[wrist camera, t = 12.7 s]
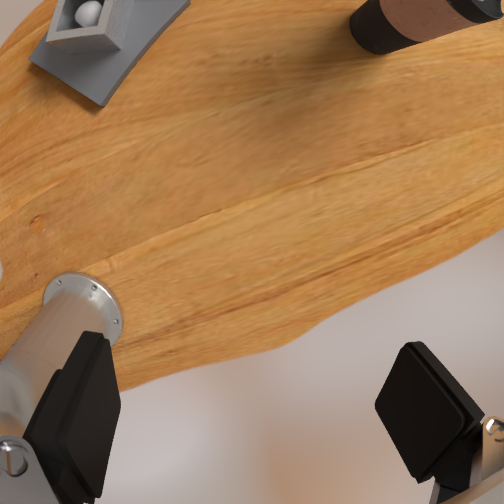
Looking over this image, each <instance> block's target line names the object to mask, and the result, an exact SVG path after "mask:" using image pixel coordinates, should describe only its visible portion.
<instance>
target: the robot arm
mask: <svg viewBox="0 0 504 504" xmlns="http://www.w3.org/2000/svg"><path fill="white" fill-rule="evenodd" d="M95 285H96V286H95ZM43 306H44V307H43V308H42V309H41V310H40V311H39V313H38V314H37V315H36V316H35V317H34V319H33V320H32V321H31V322H30V323H29V325H28V326H27V327H26V328H25V330H24V331H23V332H22V333H21V335H20V336H19V337H18V338H17V340H16V341H15V342H14V344H13V345H12V346H11V348H10V349H9V350H8V351H7V353H6V354H5V355H4V357H3V358H2V360H1V361H0V504H83V503H88V504H94V502H95V498H100V497H101V495H102V490H103V485H104V480H105V475H106V470H107V465H108V460H109V456H110V451H111V446H112V442H113V438H114V434H115V429H116V426H117V421H118V418H119V414H120V408H121V401H120V396H119V391H118V386H117V381H116V376H115V370H114V364H113V358H112V352H111V347H112V346H113V345H114V344H115V343H116V342H117V340H118V339H119V337H120V335H121V332H122V329H123V315H122V311H121V308H120V305H119V303H118V301H117V299H116V298H115V296H114V295H113V294H112V292H111V291H110V290H109V289H108V288H107V287H106V286H105V285H104V284H103V283H101V282H100V281H99V280H97V279H95V278H94V277H92V276H90V275H87V274H84V273H80V272H66V273H63V274H60V275H59V276H57V277H55V278H54V279H53V280H52V281H51V282H50V283H49V285H48V286H47V288H46V290H45V293H44V298H43ZM375 409H376V412H377V413H378V415H379V417H380V419H381V421H382V422H383V424H384V426H385V428H386V430H387V431H388V433H389V435H390V437H391V439H392V441H393V443H394V444H395V446H396V448H397V450H398V452H399V454H400V456H401V457H402V459H403V461H404V463H405V465H406V467H407V469H408V471H409V472H410V474H411V476H412V477H413V478H416V480H417V482H418V484H419V483H422V482H424V481H427V480H429V479H430V478H431V477H432V476H434V477H435V482H434V487H433V490H432V494H431V499H430V502H429V504H504V420H503V419H502V418H499V417H495V416H492V417H488V418H487V419H486V420H485V421H484V422H483V424H482V425H481V423H480V421H481V420H482V418H483V417H484V415H485V414H484V413H483V411H482V410H481V409H480V408H479V407H478V405H477V404H476V403H475V402H474V400H473V399H472V398H471V397H470V396H469V395H468V393H467V392H466V391H465V390H464V388H463V387H462V386H461V385H460V384H459V383H458V381H457V380H456V379H455V378H454V377H453V376H452V375H451V373H450V372H449V371H448V370H447V369H446V368H445V367H444V365H443V364H442V363H441V362H440V361H439V360H438V359H437V358H436V356H435V355H434V354H433V353H432V352H431V351H430V350H429V349H428V347H427V346H426V345H425V344H424V343H423V342H420V341H417V342H408V343H406V344H405V345H404V346H403V347H402V348H401V349H400V351H399V353H398V356H397V358H396V360H395V362H394V365H393V367H392V369H391V371H390V373H389V375H388V377H387V379H386V381H385V383H384V385H383V388H382V389H381V391H380V393H379V395H378V397H377V399H376V401H375Z"/></svg>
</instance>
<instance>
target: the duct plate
mask: <svg viewBox="0 0 504 504" xmlns="http://www.w3.org/2000/svg"><path fill="white" fill-rule="evenodd" d="M189 5H190V0H134V3H133V6H132V9H131V13H130V17H129V20H128V24H127V28H126V32H125V36H124V40H123V44H122V49H121V50H105V51H93V52H83V53H74V54H68V53H66V52H64V51H62V50H60V49H58V48H56V47H54V46H52V45H50V44H48V43H46V38H47V34H48V31H49V30H48V31H47V33H46V34H45V36H44V37H43V38H42V40H41V41H40V43H39V44H38V46H37V47H36V49H35V50H34V52H33V53H32V55H31V56H30V58H29V59H28V60H30V61H31V62H33V63H35V64H36V65H38V66H39V67H41V68H43V69H44V70H46V71H47V72H49V73H51V74H52V75H54V76H55V77H57V78H58V79H60V80H62V81H63V82H65V83H66V84H68V85H69V86H71V87H72V88H74V89H76V90H77V91H79V92H80V93H82V94H83V95H85V96H86V97H88V98H89V99H91V100H92V101H94V102H95V103H97V104H98V105H100V106H103V107H105V106H106V104H107V103H108V101H109V100H110V98H111V97H112V95H113V94H114V93H115V91H116V90H117V88H118V87H119V86H120V84H121V83H122V82H123V80H124V79H125V78H126V76H127V75H128V74H129V72H130V71H131V70H132V68H133V67H134V66H135V65H136V63H137V62H138V61H139V60H140V58H141V57H142V56H143V55H144V54H145V52H146V51H147V50H148V49H149V48H150V46H151V45H152V44H153V43H154V42H155V41H156V40H157V38H158V37H159V36H160V35H161V34H162V33H163V32H164V31H165V30H166V29H167V27H168V26H169V25H170V24H171V23H172V22H173V21H174V20H175V19H176V18H177V17H178V16H179V15H180V14H181V13H182V12H183V11H184V10H185V9H186V8H187V7H188V6H189ZM102 8H103V7H102V6H101V5H100V3H99V2H97V1H88V2H86V3H84V4H83V5H81V6H80V7H79V8H78V10H77V12H76V14H75V20H76V21H77V22H78V23H79V24H80V25H81V26H83V27H82V28H84V27H92V26H97V25H98V22H99V18H100V15H101V11H102Z"/></svg>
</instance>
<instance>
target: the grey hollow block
mask: <svg viewBox="0 0 504 504" xmlns="http://www.w3.org/2000/svg"><path fill="white" fill-rule="evenodd" d="M88 1H97V2H99V3H100V5H101V6H102V7H103V8H102V11H101V15H100V18H99V22H98V25H97V26H92V27H84V28H82V27H83V26H81V25H80V24H79V23H78V22H77V21H76V20H75V14H76V12H77V10H78V8H79V7H80V6H81V5H83V4H84V3H86V2H88ZM133 3H134V0H58V3H57V5H56V8H55V11H54V14H53V18H52V21H51V24H50V27H49V31H48V34H47V38H46V43H48V44H50V45H52V46H54V47H56V48H58V49H60V50H62V51H64V52H66V53H68V54H74V53H83V52H93V51H105V50H121V49H122V44H123V40H124V36H125V32H126V28H127V24H128V20H129V17H130V13H131V9H132V6H133Z"/></svg>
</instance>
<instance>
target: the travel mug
mask: <svg viewBox="0 0 504 504" xmlns="http://www.w3.org/2000/svg"><path fill="white" fill-rule="evenodd" d="M503 16H504V13H502V11H501V0H367V1H366V2H365V3H364V4H363V5H362V6H361V7H360V8H358V9H357V10H356V11H355V12H354V13H353V15H352V16H351V19H350V29H351V32H352V35H353V36H354V38H355V40H356V41H357V42H358V43H359V44H360V45H361V46H362V47H363V48H365V49H366V50H368V51H370V52H372V53H375V54H387V53H391V52H394V51H397V50H400V49H403V48H406V47H409V46H412V45H416V44H419V43H422V42H425V41H429V40H431V39H434V38H437V37H440V36H443V35H446V34H449V33H452V32H455V31H458V30H461V29H465V28H468V27H471V26H475V25H478V24H482V23H486V22H490V21H493V20H497V19H500V18H502V17H503Z"/></svg>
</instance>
